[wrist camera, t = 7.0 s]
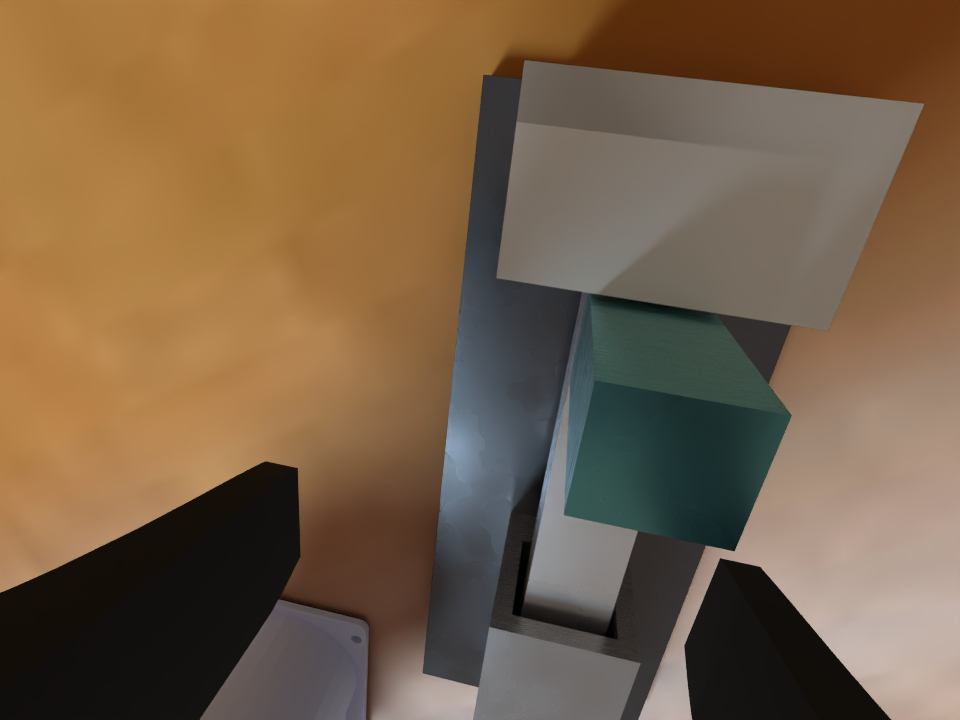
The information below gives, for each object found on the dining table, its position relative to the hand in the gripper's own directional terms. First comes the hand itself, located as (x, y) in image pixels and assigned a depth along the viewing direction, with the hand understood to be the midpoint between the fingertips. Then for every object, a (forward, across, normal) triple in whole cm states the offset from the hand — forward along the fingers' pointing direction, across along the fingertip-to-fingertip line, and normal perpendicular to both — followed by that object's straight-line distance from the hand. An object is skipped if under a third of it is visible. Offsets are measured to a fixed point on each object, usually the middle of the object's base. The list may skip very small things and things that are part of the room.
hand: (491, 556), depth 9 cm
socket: (+10, -2, -6) cm, 12 cm away
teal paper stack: (+8, -2, +1) cm, 8 cm away
